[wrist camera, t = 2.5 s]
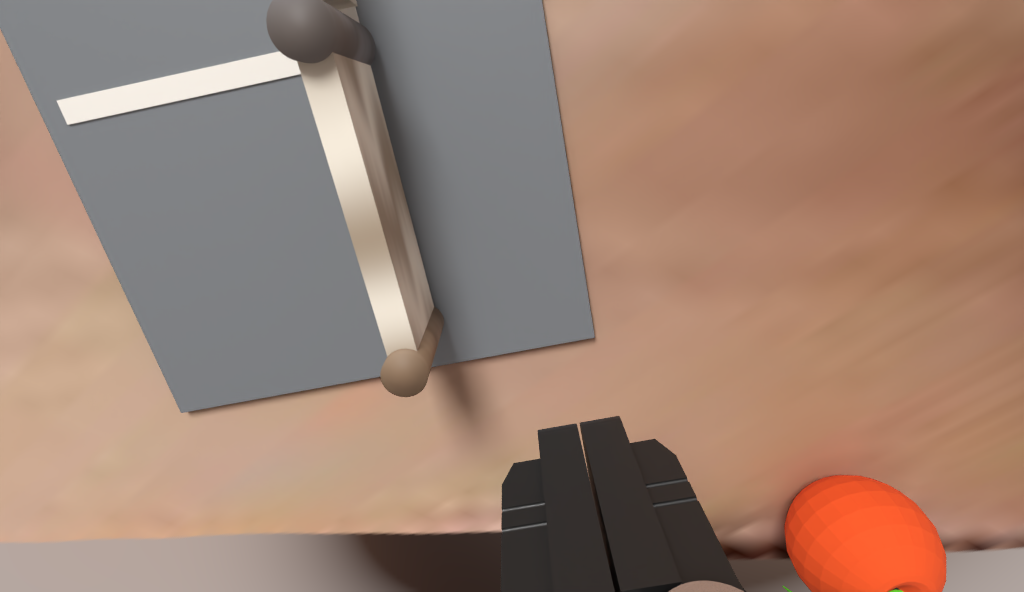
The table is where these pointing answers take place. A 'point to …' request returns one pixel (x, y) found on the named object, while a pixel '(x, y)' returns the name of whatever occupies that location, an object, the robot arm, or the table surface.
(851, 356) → the table surface
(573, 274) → the card
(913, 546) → the clementine
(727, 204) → the table surface
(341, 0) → the fixed fence section
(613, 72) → the table surface
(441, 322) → the swinging fence section
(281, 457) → the table surface
